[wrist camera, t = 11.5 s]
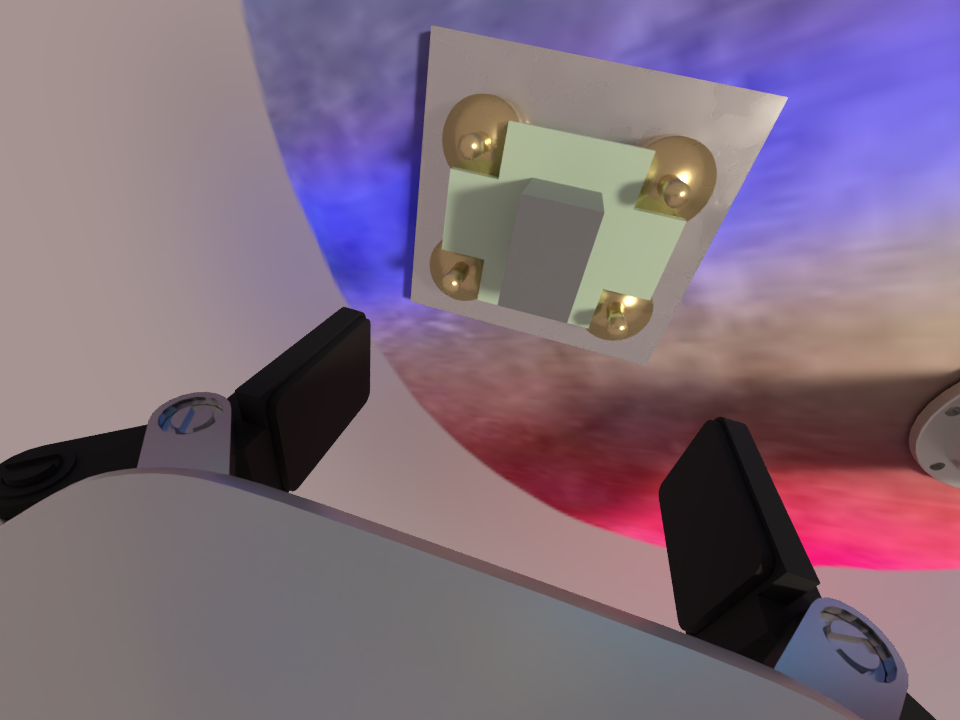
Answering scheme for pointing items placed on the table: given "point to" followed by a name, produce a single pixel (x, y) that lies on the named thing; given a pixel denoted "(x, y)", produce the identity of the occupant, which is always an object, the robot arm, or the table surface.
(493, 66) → the chassis
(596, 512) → the table surface
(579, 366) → the table surface
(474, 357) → the table surface
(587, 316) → the board
